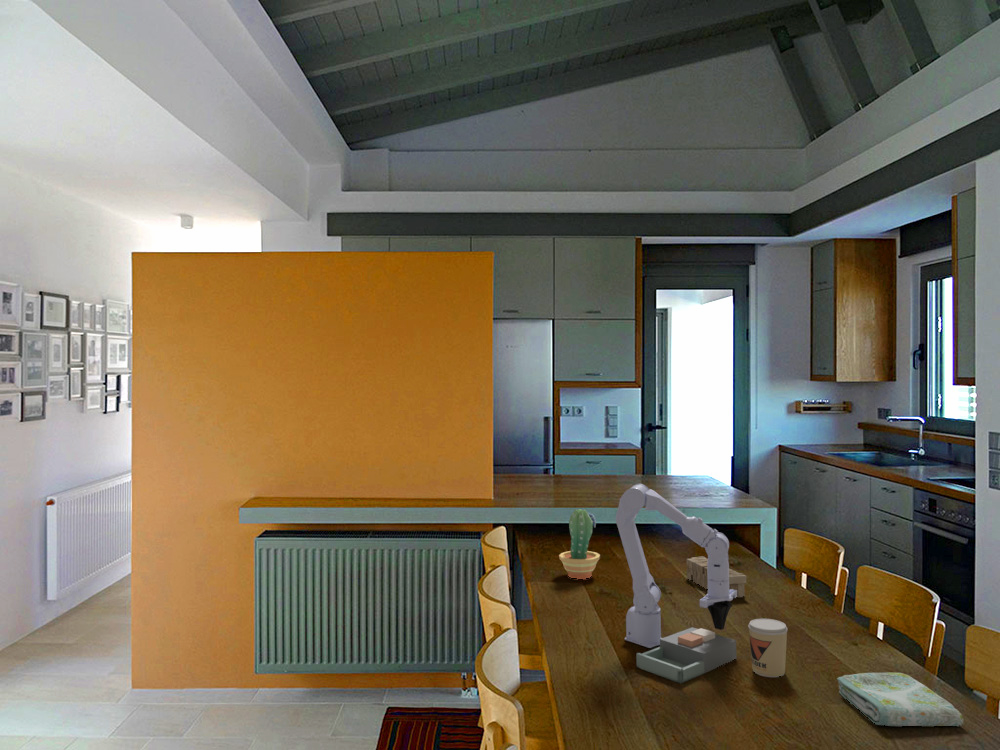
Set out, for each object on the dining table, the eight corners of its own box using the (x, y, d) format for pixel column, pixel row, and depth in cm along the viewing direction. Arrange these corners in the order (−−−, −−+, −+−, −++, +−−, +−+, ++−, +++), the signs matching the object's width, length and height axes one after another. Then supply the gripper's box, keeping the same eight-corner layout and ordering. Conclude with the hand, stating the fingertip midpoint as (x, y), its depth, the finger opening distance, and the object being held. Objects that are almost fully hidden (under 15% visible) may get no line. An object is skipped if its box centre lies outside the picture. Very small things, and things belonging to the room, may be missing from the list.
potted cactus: (602, 581, 277) (601, 513, 277) (560, 582, 278) (559, 513, 278) (598, 570, 293) (597, 505, 293) (558, 571, 293) (556, 506, 293)
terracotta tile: (677, 642, 200) (677, 636, 200) (688, 638, 203) (688, 632, 203) (692, 647, 197) (691, 641, 197) (702, 642, 199) (702, 637, 199)
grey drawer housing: (660, 657, 203) (659, 639, 203) (692, 645, 212) (692, 627, 212) (704, 673, 192) (703, 653, 192) (736, 659, 201) (736, 640, 201)
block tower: (685, 580, 280) (726, 601, 252) (684, 557, 281) (725, 575, 252) (704, 579, 282) (747, 598, 254) (703, 556, 282) (746, 573, 254)
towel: (908, 689, 181) (908, 667, 181) (965, 731, 160) (964, 706, 160) (833, 691, 181) (832, 669, 181) (880, 733, 160) (879, 709, 160)
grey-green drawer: (636, 667, 197) (636, 653, 197) (660, 657, 203) (660, 644, 203) (680, 683, 186) (680, 669, 186) (704, 673, 192) (704, 659, 192)
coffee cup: (741, 667, 195) (740, 621, 195) (770, 662, 198) (770, 616, 198) (766, 681, 186) (765, 632, 186) (796, 675, 190) (795, 627, 190)
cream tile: (690, 637, 204) (690, 632, 204) (701, 633, 206) (700, 628, 206) (704, 642, 200) (704, 636, 200) (715, 637, 203) (715, 632, 203)
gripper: (714, 586, 200) (715, 638, 200) (746, 576, 209) (747, 626, 209) (692, 581, 206) (693, 631, 206) (724, 571, 215) (725, 619, 215)
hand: (719, 628), depth 208 cm, fingers closed
